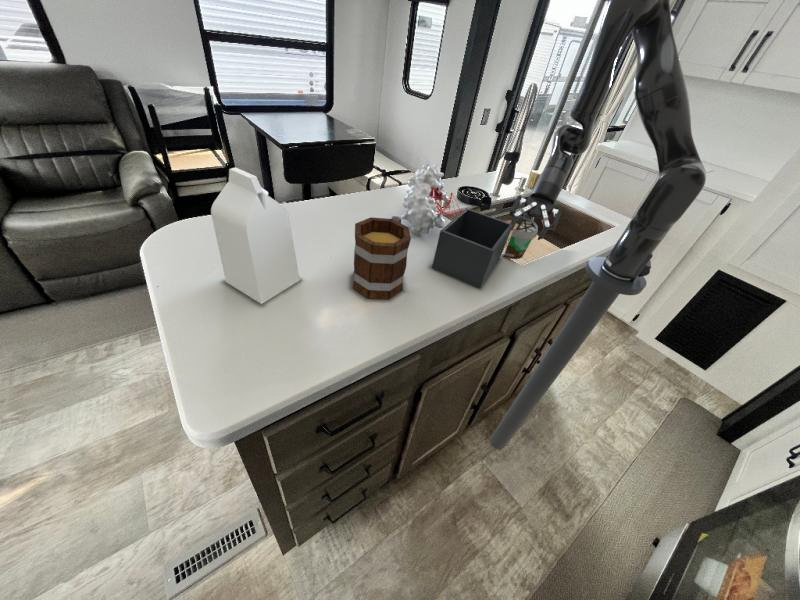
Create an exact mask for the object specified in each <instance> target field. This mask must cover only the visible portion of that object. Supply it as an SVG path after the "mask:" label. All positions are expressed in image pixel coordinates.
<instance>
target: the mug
mask: <svg viewBox="0 0 800 600" xmlns="http://www.w3.org/2000/svg"><path fill="white" fill-rule="evenodd" d="M411 241H412V236H411V232H410V228H409V226H407V225H405V224H403V223H402V218H401V217H400V216H397V215H393V216H391V218H383V217H371V216H370V217H368V218H366V219H363V220H360V221H358V222H355V223H354V243H355V244H354V250H353V254H354V255H353V275H352V277H353V278H352V289H353V290H354V291H356V292H357V293H359V295H361V296H363V297H365V298H366V299H368V300H390V299H392V298H394V297H395V296H396V295H398V294H399V293H401V292H402V291H403V287H404V285H403V283H404V277H405V272H406V269H407V260H408V251H409V248H410V247H409V246H410V244H411Z"/></svg>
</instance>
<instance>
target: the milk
mask: <svg viewBox="0 0 800 600" xmlns="http://www.w3.org/2000/svg"><path fill="white" fill-rule="evenodd" d="M210 207H211V208H210V215H211V220H212V224H213V228H214V233H215V238H216V242H217V246H218V252H219V255H220V261H221V265H222V270H223V275H224V279H225V283H227V284H228V285H230V286H232V288H235V289H236V290H237V291H240V292H241V293H243V294H244V295H246V296H248V297H249V298H251V299H252V300H254V301H255V302H257V303H259V304H260V305H263V304H264V303H266V302H267V301H269V300H271V299H272V298H274V297H275V296H277V295H279V294H281V293H282V292H284V291H285V290H286V289H288V288H290V287H292V286H293V285H295V284H297V283H298V282H299V281H301V280H300V272H299V267H298V262H297V261H298V260H297V255H296V249H295V245H294V238H293V232H292V225H291V220H290V214H289V211H288V210H287V208H286V207H285V206H284V205H283V204H281V203H280V202H279V201H277V200H275V199H274V198H272V197H271V196H270V195H269V191H267V190H266V189H264V188H263V187H262V186H261V184H260V181H259V179H258V177H257V176H256V175H254V174H253V173H249V172H247V171H245V170H243V169H240V168H238V167H232V168H229V169H228V181H227V183H226V184H225V186H224V187H223V188H222V190H221V191H220V192H219V194H218V195H217V197H216V198H215V199H214V201H213V203H212V205H211V206H210Z"/></svg>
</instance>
